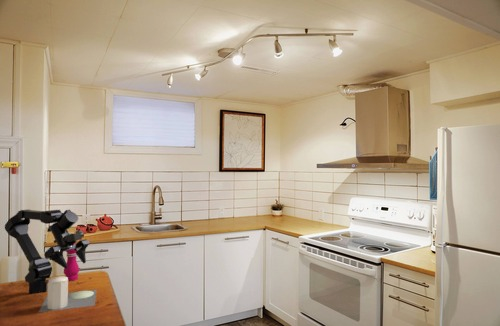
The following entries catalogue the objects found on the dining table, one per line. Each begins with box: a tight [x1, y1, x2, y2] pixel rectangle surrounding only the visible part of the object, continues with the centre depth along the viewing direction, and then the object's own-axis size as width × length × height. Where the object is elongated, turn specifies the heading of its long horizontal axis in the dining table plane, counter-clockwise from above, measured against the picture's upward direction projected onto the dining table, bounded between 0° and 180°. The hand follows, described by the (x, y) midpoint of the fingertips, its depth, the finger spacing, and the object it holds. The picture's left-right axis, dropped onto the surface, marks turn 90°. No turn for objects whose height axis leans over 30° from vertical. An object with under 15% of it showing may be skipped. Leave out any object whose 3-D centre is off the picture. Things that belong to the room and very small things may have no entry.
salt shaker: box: [47, 275, 69, 310], centre depth 139 cm, size 7×7×11 cm
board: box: [37, 289, 98, 313], centre depth 146 cm, size 20×20×1 cm
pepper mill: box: [63, 243, 80, 282], centre depth 177 cm, size 7×7×20 cm
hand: (76, 265), depth 147 cm, fingers open, 9 cm apart
